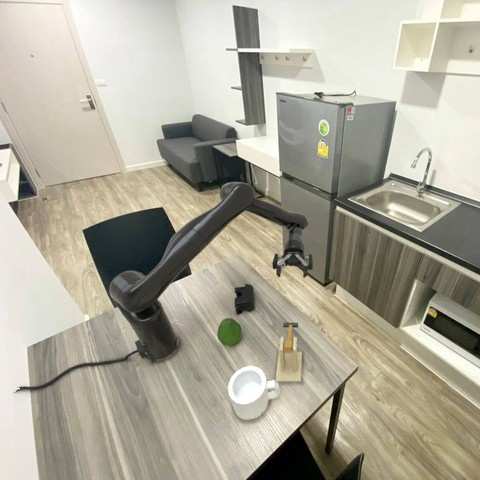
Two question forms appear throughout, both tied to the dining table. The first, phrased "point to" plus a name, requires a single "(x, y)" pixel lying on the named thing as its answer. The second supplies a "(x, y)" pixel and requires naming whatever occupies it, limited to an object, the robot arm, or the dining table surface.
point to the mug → (251, 392)
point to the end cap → (244, 298)
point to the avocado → (229, 332)
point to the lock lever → (289, 337)
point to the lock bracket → (289, 363)
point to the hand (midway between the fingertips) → (291, 275)
